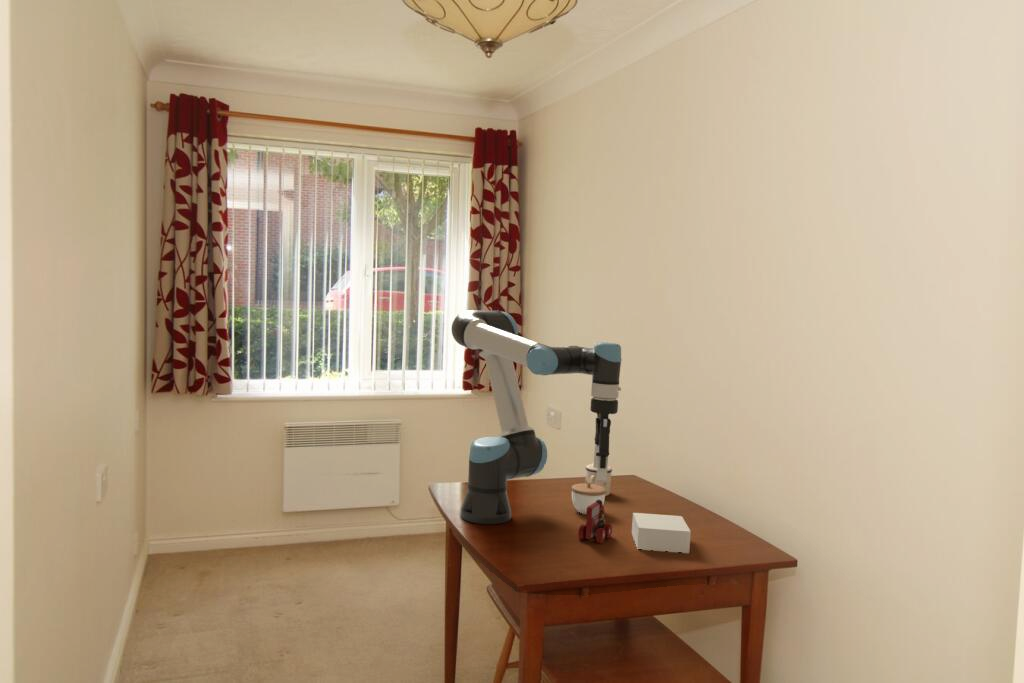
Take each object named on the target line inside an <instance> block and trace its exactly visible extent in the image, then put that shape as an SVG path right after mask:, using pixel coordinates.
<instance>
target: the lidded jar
mask: <svg viewBox="0 0 1024 683" xmlns="http://www.w3.org/2000/svg"><path fill="white" fill-rule="evenodd" d="M605 493H606V489H605V488H604V487H602V486H599V485H595V484H591V483H590V482H588V483H587V484H586V483H585V482H584V483H583V482H582V483H575V484H573V485H571V500H572V501H571V502H572V504H573V507H574V508H575V509H576V510H577V513H579V512H580V513H579V514H581V513H582V514H581V515H586V512H587V507H588V506H590V505H591V504H593V503H595V502H596V501H597V500H601V501H602V505H603V506H604V503H605V499H606V496H605Z"/></svg>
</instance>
